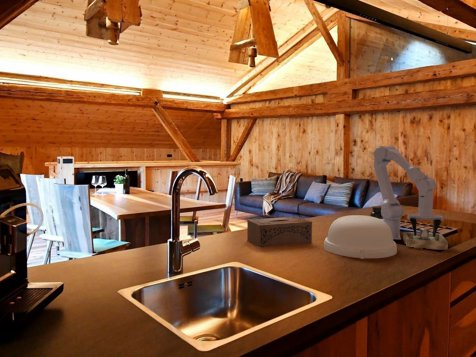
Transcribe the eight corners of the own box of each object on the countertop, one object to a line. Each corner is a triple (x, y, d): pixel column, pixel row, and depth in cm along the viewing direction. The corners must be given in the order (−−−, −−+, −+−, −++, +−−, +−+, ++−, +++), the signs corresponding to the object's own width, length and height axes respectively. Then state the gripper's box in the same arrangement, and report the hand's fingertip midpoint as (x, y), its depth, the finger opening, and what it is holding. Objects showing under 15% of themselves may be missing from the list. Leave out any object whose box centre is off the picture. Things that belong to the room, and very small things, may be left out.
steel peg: (419, 244, 181) (420, 229, 181) (419, 243, 185) (419, 227, 184) (428, 245, 180) (429, 229, 179) (428, 243, 183) (428, 228, 183)
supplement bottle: (381, 228, 217) (382, 206, 216) (385, 231, 210) (386, 208, 209) (368, 228, 218) (369, 205, 217) (371, 230, 211) (372, 207, 210)
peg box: (406, 247, 177) (406, 239, 176) (403, 239, 192) (403, 231, 192) (447, 250, 172) (447, 241, 172) (440, 241, 187) (440, 234, 187)
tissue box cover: (296, 236, 199) (297, 216, 198) (311, 243, 185) (312, 221, 184) (247, 240, 190) (247, 219, 189) (259, 248, 177) (259, 225, 176)
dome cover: (402, 261, 156) (404, 225, 155) (322, 256, 163) (323, 222, 162) (391, 242, 187) (392, 212, 186) (324, 239, 194) (325, 209, 193)
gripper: (408, 206, 179) (407, 236, 180) (445, 207, 175) (444, 238, 176) (407, 203, 186) (406, 233, 187) (442, 205, 181) (441, 235, 182)
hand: (424, 235), depth 182 cm, fingers open, 7 cm apart
